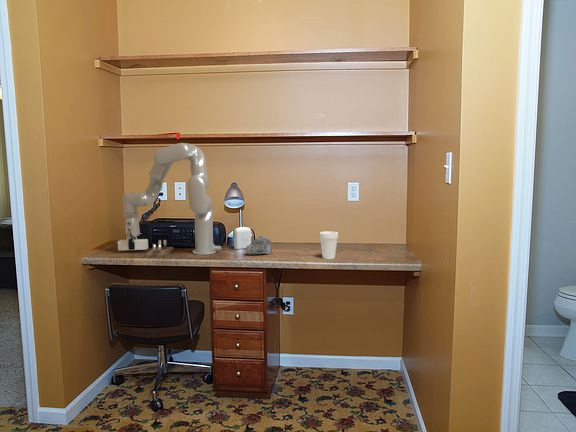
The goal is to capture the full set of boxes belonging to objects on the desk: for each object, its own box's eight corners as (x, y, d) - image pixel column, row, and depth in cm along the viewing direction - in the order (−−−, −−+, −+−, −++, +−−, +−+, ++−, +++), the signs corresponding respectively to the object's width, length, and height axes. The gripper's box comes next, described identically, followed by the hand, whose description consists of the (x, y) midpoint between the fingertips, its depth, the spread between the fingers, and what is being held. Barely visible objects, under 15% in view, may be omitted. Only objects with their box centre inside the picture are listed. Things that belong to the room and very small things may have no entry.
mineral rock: (245, 256, 235) (245, 237, 234) (249, 252, 246) (249, 234, 245) (270, 256, 234) (269, 237, 233) (272, 252, 245) (272, 234, 244)
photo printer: (248, 246, 261) (248, 225, 259) (252, 248, 257) (252, 226, 256) (232, 248, 255) (232, 227, 254) (236, 250, 252) (236, 228, 250)
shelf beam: (148, 247, 249) (147, 239, 248) (146, 249, 244) (145, 240, 244) (120, 248, 248) (120, 240, 247) (118, 250, 243) (117, 241, 243)
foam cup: (335, 255, 236) (335, 231, 235) (340, 259, 227) (340, 233, 226) (317, 256, 235) (317, 231, 233) (321, 259, 226) (321, 234, 224)
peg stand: (173, 249, 253) (173, 239, 252) (164, 256, 233) (164, 245, 232) (155, 249, 253) (155, 239, 252) (145, 257, 233) (145, 245, 232)
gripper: (133, 217, 236) (135, 251, 238) (142, 213, 252) (144, 245, 254) (119, 217, 235) (121, 251, 237) (129, 213, 252) (131, 245, 254)
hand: (133, 248), depth 246 cm, fingers closed on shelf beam, 4 cm apart
